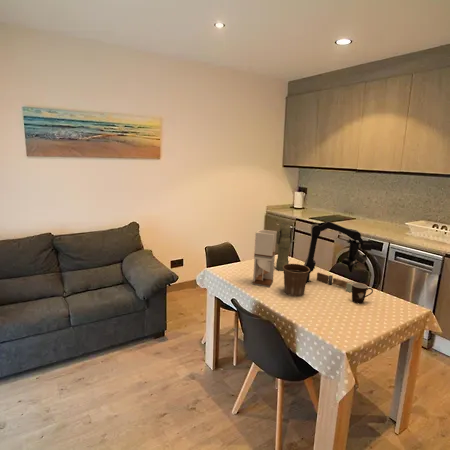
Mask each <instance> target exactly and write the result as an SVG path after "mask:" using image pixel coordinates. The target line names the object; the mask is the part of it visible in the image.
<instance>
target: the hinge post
mask: <svg viewBox="0 0 450 450" xmlns="http://www.w3.org/2000/svg"><path fill="white" fill-rule="evenodd" d="M316 274H317V275H316V281H318V282H320V283H323V284H326V285H328V286H332V285H333V278H334V276H333V274H332V275H331V274H329V275H328V274H325V273H321V272H317V273H316Z"/></svg>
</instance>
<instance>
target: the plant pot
mask: <svg viewBox="0 0 450 450" xmlns="http://www.w3.org/2000/svg"><path fill="white" fill-rule="evenodd" d="M283 269H284V271H283V275H284V276H283V282H284V283H283V284H284V285H283V286H284V287H283V289H284V293H286V295H288V296H292V297H299V296H304V295H305V292H306V291H305V290H306V284H307V283H306V280H307V277H308V273H309V271H310V269H309V268H308V267H306V266H304V264H298V263H289V264H286V265H284V266H283Z"/></svg>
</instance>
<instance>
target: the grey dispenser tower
mask: <svg viewBox="0 0 450 450" xmlns="http://www.w3.org/2000/svg"><path fill="white" fill-rule="evenodd" d="M277 231H278V230H268V229H258V230H257V231H256V232H255V234H254V235H255V236H254V237H255V239H254V251H253V260H254V261H253V263H254V264H253V274H252V275H253V278H252V286H257V287H263V288H271V286H272V285H273V283H274V273H275V270H274V269H275V260H276V259H275V257H276V244H277Z"/></svg>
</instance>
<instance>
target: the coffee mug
mask: <svg viewBox="0 0 450 450" xmlns="http://www.w3.org/2000/svg"><path fill="white" fill-rule="evenodd" d="M351 283H352V282H351ZM368 290H371V292H370V293H369V294H367V292H368ZM373 292H374V289H373V288H372V287H368V285H367V284H365V283H362V282H353V283H352V292H351V301H352V302H353V303H355V304H358V303H359V304H358V305H362V304H364V302H365V298H366V297H369V296H370V295H372V294H373ZM366 294H367V295H366Z"/></svg>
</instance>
